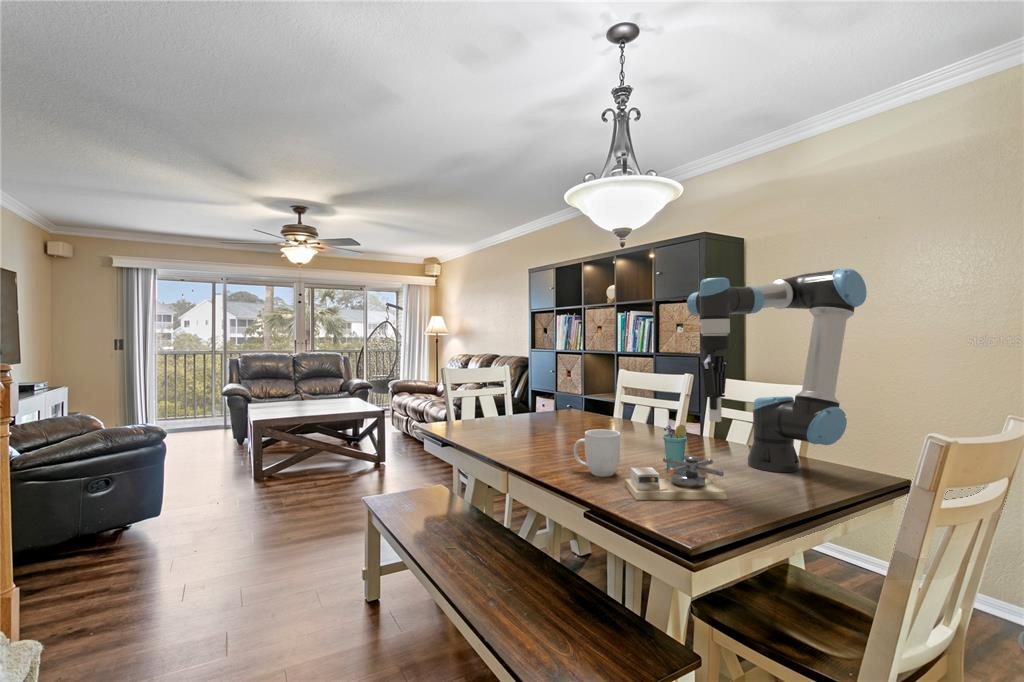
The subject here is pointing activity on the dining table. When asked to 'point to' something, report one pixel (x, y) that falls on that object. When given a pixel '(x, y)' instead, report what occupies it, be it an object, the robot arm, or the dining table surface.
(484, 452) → the dining table surface
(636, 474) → the stand
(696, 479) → the capstan
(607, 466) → the mug
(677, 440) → the teal pot with plants
